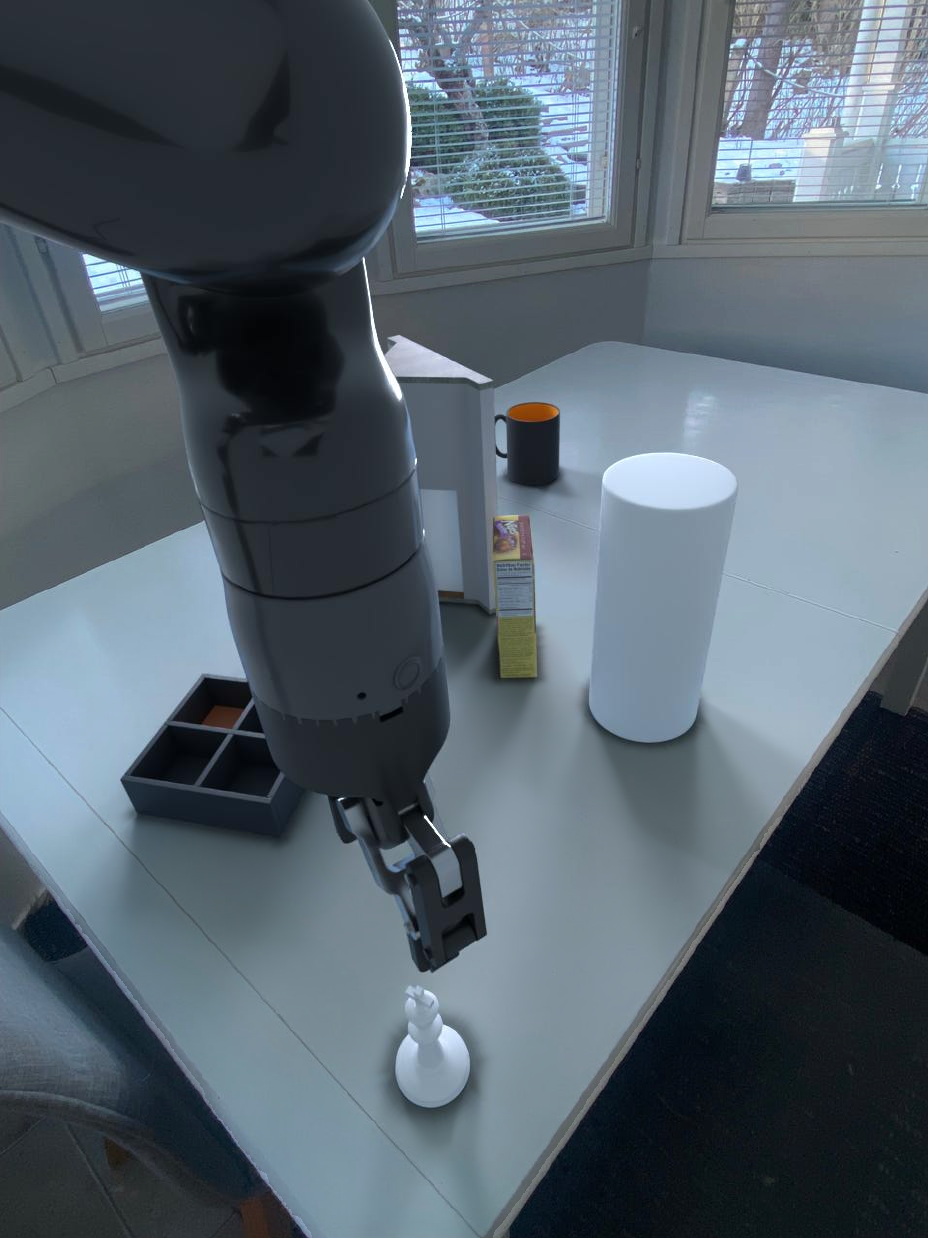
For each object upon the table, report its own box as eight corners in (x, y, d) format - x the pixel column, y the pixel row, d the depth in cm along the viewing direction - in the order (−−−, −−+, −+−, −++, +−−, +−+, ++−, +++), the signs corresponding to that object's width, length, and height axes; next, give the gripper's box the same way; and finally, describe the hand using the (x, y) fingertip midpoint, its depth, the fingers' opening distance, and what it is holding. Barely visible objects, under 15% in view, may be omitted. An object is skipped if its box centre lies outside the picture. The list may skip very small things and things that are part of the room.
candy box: (497, 629, 85) (492, 514, 76) (534, 628, 85) (533, 512, 76) (497, 680, 78) (491, 559, 69) (537, 679, 78) (537, 558, 69)
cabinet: (501, 610, 88) (493, 380, 72) (431, 638, 85) (406, 403, 68) (420, 539, 103) (399, 334, 87) (358, 560, 100) (323, 351, 83)
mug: (504, 455, 124) (503, 395, 118) (568, 468, 119) (569, 406, 112) (478, 474, 119) (475, 412, 113) (543, 489, 113) (543, 425, 107)
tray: (280, 838, 63) (269, 804, 61) (136, 813, 67) (119, 779, 64) (340, 722, 75) (333, 688, 72) (214, 705, 78) (202, 673, 75)
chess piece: (421, 1013, 51) (406, 935, 45) (483, 1049, 49) (476, 973, 43) (380, 1082, 47) (358, 1008, 42) (445, 1124, 45) (432, 1052, 39)
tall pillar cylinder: (658, 659, 79) (687, 442, 65) (719, 723, 71) (768, 492, 56) (570, 686, 77) (579, 466, 62) (622, 756, 69) (647, 522, 54)
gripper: (194, 593, 31) (276, 830, 41) (328, 816, 21) (395, 1060, 31) (353, 537, 34) (395, 771, 44) (536, 710, 24) (537, 963, 34)
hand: (394, 890), depth 37 cm, fingers open, 8 cm apart
